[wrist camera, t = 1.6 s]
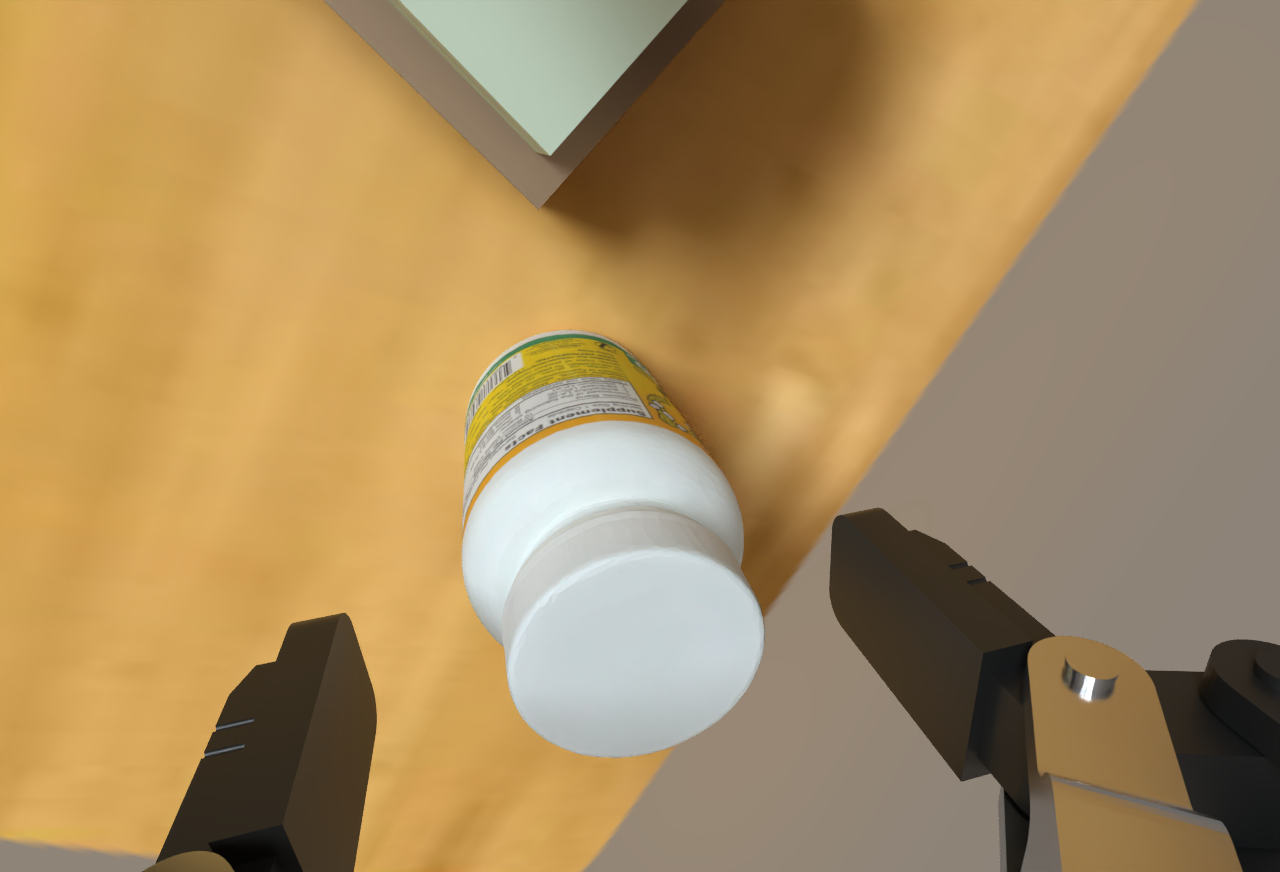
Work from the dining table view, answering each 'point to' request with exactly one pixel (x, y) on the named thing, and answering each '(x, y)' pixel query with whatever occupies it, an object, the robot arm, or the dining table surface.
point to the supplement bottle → (603, 550)
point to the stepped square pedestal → (529, 69)
